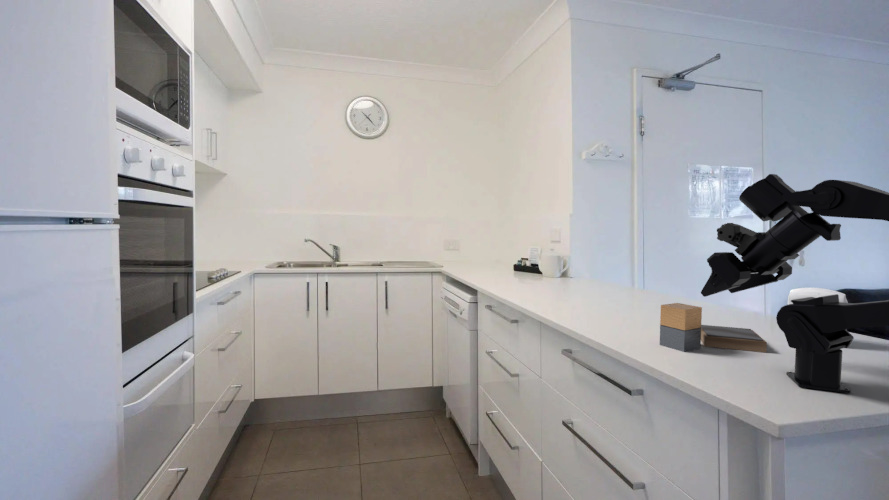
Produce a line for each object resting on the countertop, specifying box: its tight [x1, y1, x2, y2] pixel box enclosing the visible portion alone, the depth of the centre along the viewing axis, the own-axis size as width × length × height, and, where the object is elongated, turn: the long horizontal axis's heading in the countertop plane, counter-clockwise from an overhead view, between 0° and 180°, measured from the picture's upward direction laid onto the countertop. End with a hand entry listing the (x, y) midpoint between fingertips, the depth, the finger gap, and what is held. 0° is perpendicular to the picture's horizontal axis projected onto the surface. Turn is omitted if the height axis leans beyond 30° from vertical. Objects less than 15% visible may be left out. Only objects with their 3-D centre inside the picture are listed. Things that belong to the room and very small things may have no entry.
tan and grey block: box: [659, 302, 703, 353], centre depth 89 cm, size 6×6×9 cm
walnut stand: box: [701, 324, 768, 353], centre depth 93 cm, size 11×11×2 cm
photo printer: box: [786, 287, 849, 305], centre depth 93 cm, size 10×4×12 cm, turn 39°
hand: (716, 292), depth 82 cm, fingers open, 9 cm apart
